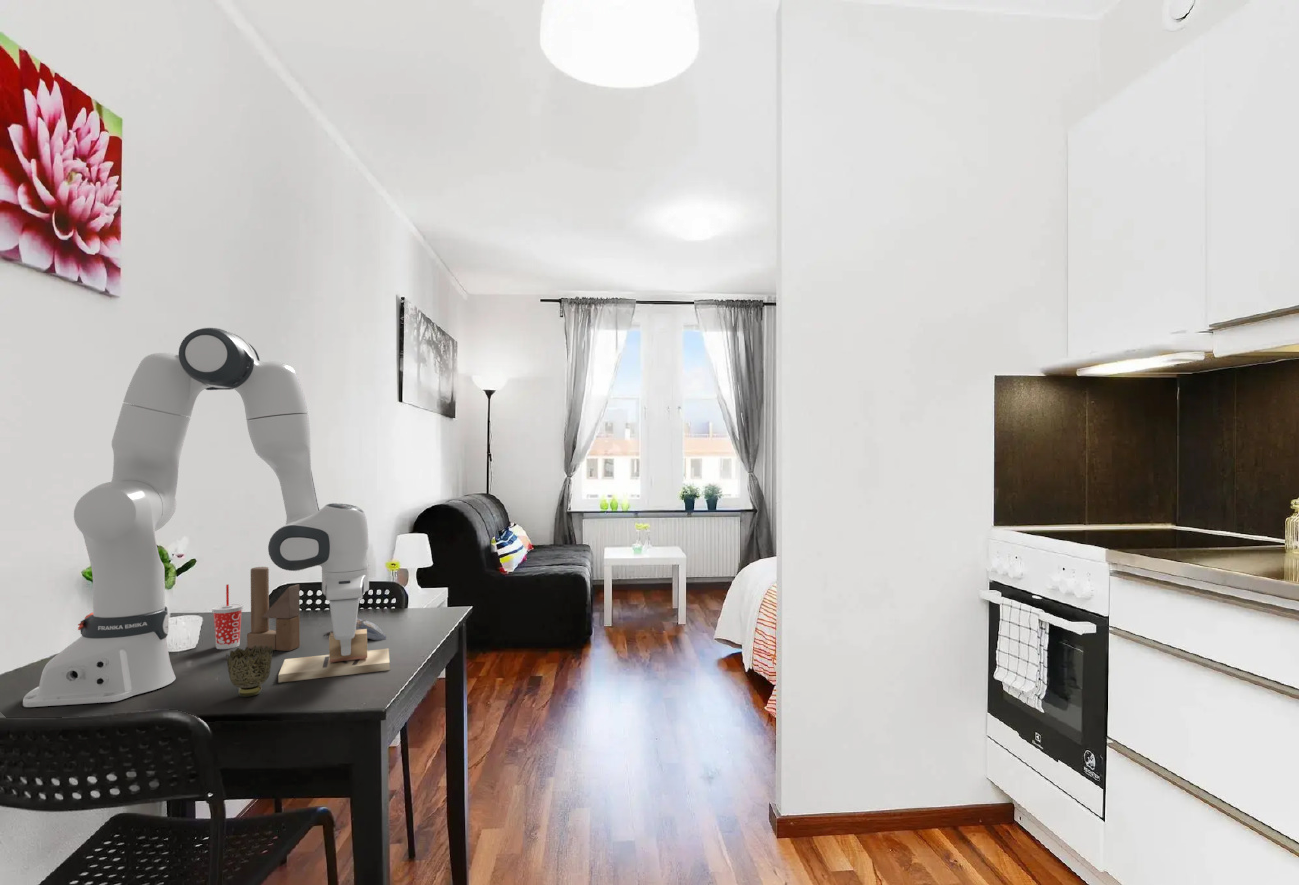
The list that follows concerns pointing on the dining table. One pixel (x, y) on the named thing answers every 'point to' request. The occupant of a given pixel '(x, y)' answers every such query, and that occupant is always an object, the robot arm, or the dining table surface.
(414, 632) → the dining table surface
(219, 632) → the beverage cup
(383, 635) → the stone
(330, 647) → the block
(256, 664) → the cup
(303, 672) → the board
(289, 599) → the stacked wooden blocks
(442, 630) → the dining table surface
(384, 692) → the dining table surface
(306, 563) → the robot arm
